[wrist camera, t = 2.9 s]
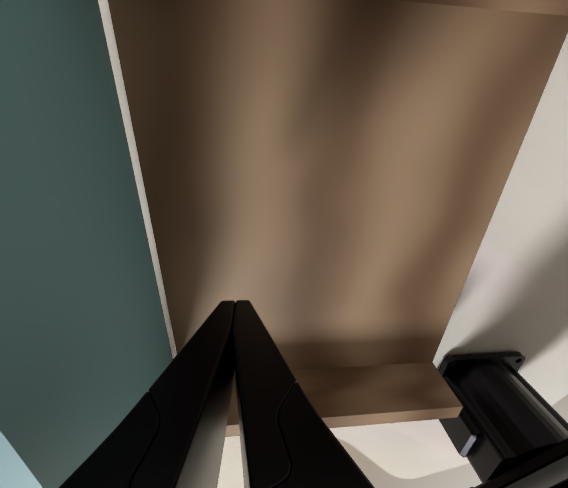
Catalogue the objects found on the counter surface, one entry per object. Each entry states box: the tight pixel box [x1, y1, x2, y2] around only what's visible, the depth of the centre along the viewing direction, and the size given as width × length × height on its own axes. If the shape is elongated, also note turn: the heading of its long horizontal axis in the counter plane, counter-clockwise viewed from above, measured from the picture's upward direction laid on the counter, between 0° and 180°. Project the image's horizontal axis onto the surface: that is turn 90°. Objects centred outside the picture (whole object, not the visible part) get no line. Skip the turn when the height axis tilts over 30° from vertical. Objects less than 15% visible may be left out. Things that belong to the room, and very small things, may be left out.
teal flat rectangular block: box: [0, 0, 173, 488], centre depth 9 cm, size 2×17×8 cm, turn 178°
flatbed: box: [108, 0, 568, 437], centre depth 13 cm, size 16×20×5 cm
